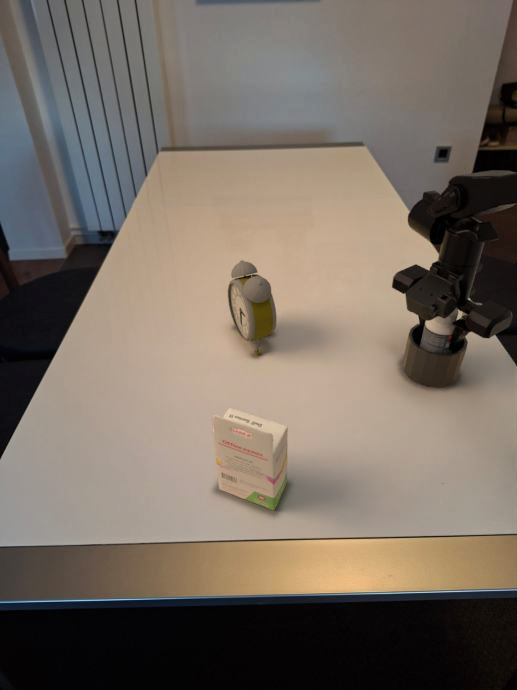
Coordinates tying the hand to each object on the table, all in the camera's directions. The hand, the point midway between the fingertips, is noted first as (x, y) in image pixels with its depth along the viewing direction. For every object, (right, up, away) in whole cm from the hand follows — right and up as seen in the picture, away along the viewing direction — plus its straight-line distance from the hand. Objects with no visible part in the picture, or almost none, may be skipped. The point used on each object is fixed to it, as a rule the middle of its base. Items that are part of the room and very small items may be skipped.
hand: (437, 341), depth 83 cm
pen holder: (0, -5, +4) cm, 6 cm away
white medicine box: (-31, -20, -15) cm, 40 cm away
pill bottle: (0, -2, +2) cm, 3 cm away
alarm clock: (-31, 0, +12) cm, 33 cm away
